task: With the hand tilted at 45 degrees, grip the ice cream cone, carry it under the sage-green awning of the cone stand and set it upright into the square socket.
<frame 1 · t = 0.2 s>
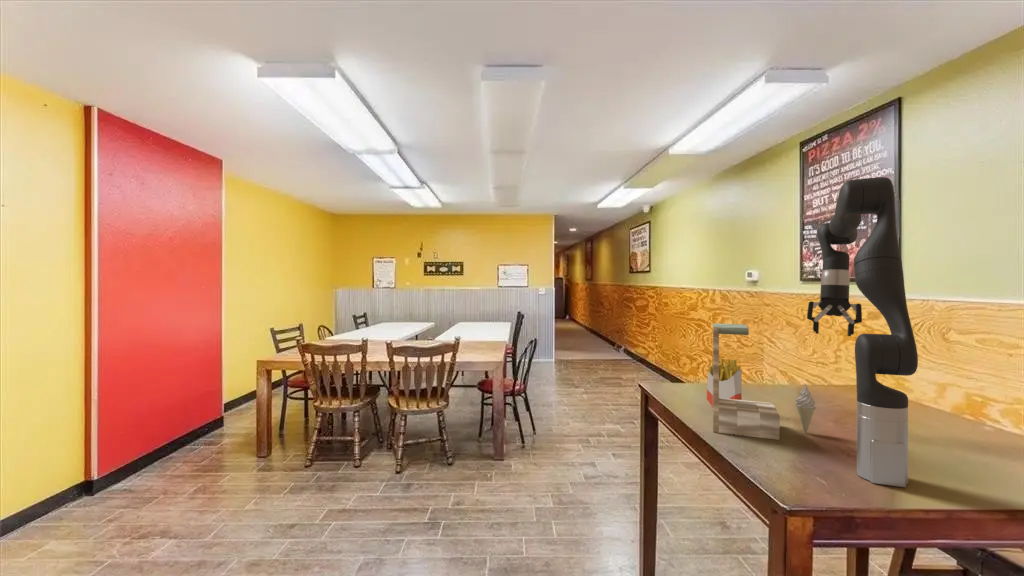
hand: (832, 334, 146), 29 cm above the table, tool pointing down, fingers open, 8 cm apart
cone stand: (746, 428, 142), on the table
ice cream cone: (805, 434, 138), on the table
french fries container: (723, 409, 166), on the table
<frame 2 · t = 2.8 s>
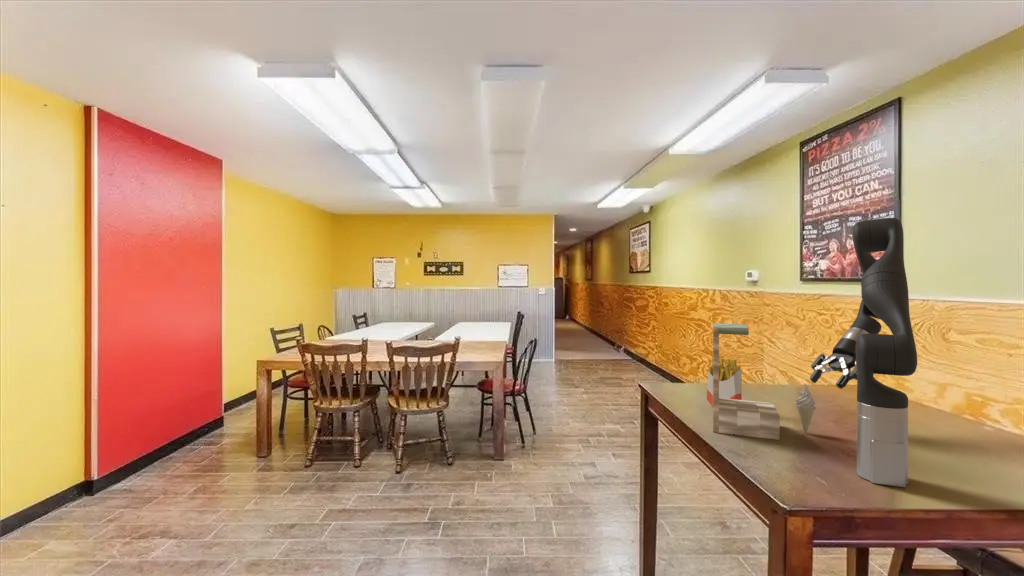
hand: (825, 383, 140), 14 cm above the table, tool tilted 45°, fingers open, 8 cm apart
nothing on the table moved.
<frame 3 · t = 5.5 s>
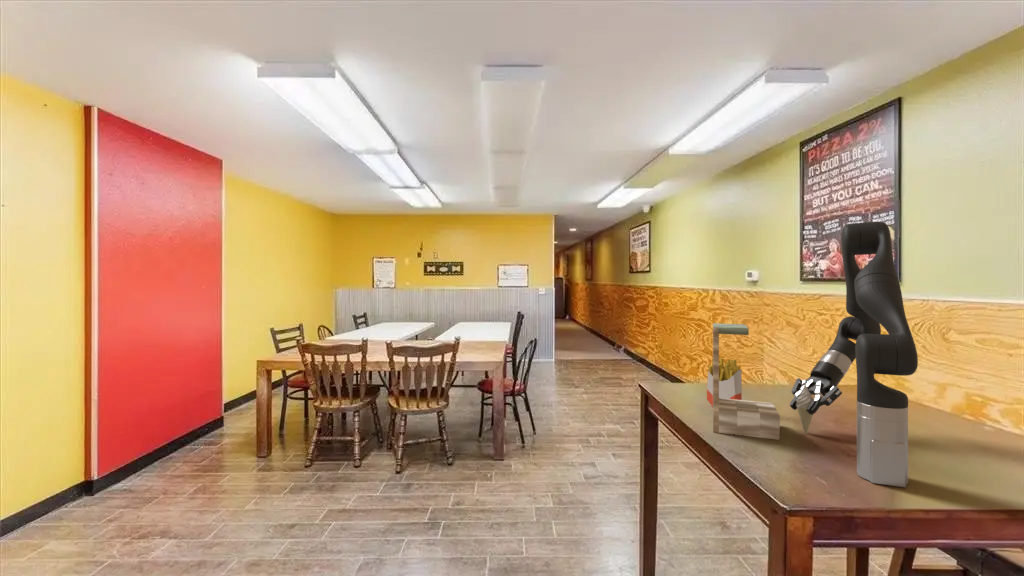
hand: (800, 410, 137), 7 cm above the table, tool tilted 45°, fingers closed on ice cream cone, 5 cm apart
ice cream cone: (805, 434, 138), on the table, touching gripper
everything else where it was.
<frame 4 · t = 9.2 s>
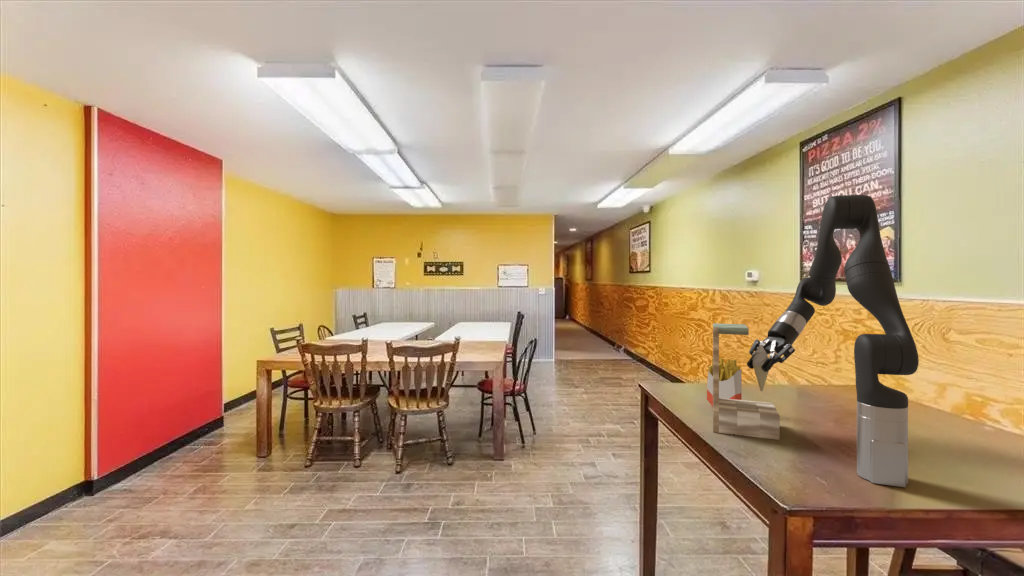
hand: (756, 368, 141), 19 cm above the table, tool tilted 45°, fingers closed on ice cream cone, 5 cm apart
ice cream cone: (761, 391, 141), point 12 cm above the table, touching gripper
everything else where it was.
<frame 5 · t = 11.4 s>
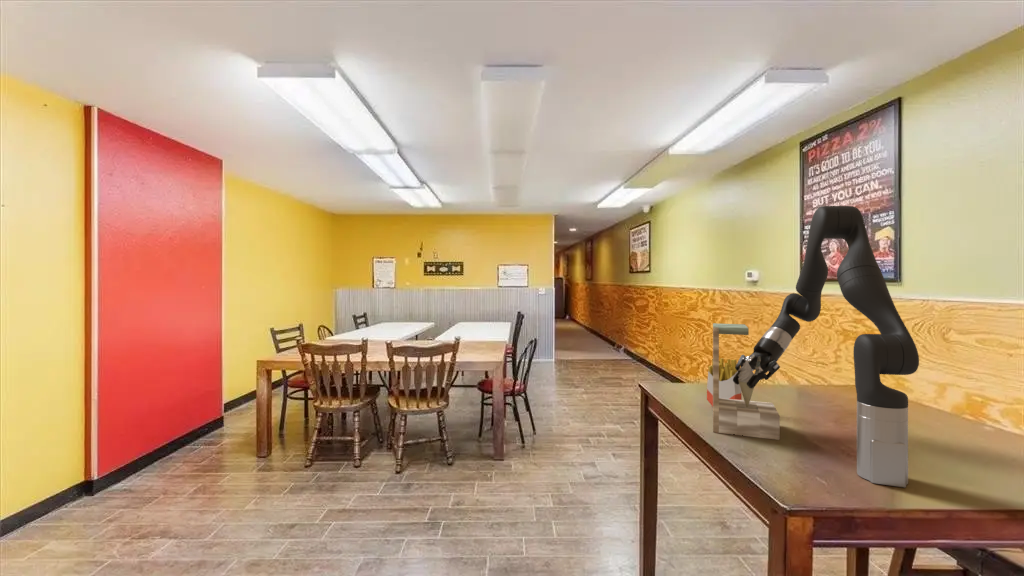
hand: (742, 384, 142), 14 cm above the table, tool tilted 45°, fingers closed on ice cream cone, 5 cm apart
ice cream cone: (747, 407, 142), point 7 cm above the table, touching gripper
everything else where it was.
when the fingers open (8 cm above the table, at t = 13.1 s): ice cream cone stays where it is, resting in cone stand.
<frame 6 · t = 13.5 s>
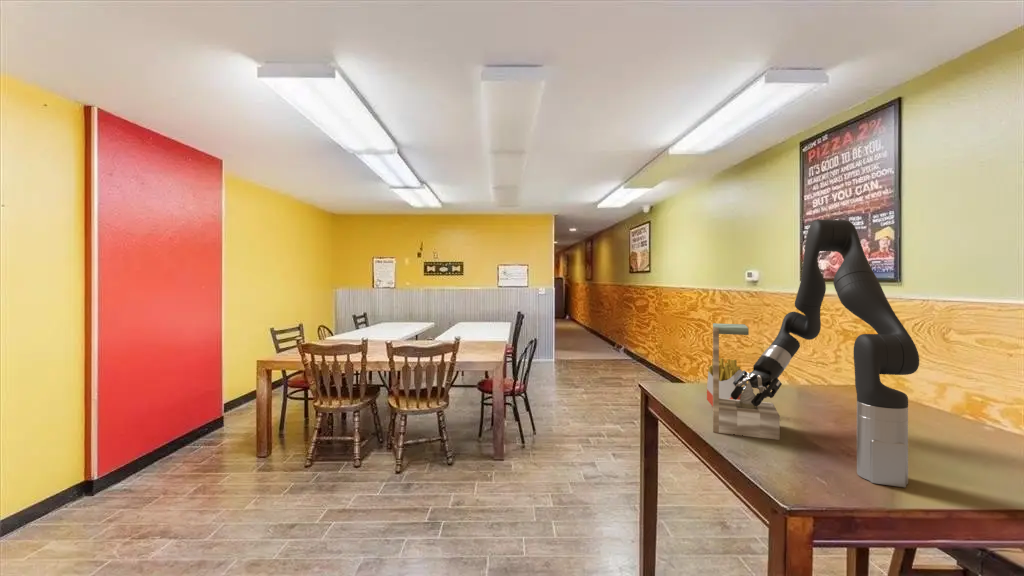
hand: (743, 401, 142), 9 cm above the table, tool tilted 45°, fingers open, 8 cm apart
ice cream cone: (746, 429, 143), resting in cone stand
everything else where it was.
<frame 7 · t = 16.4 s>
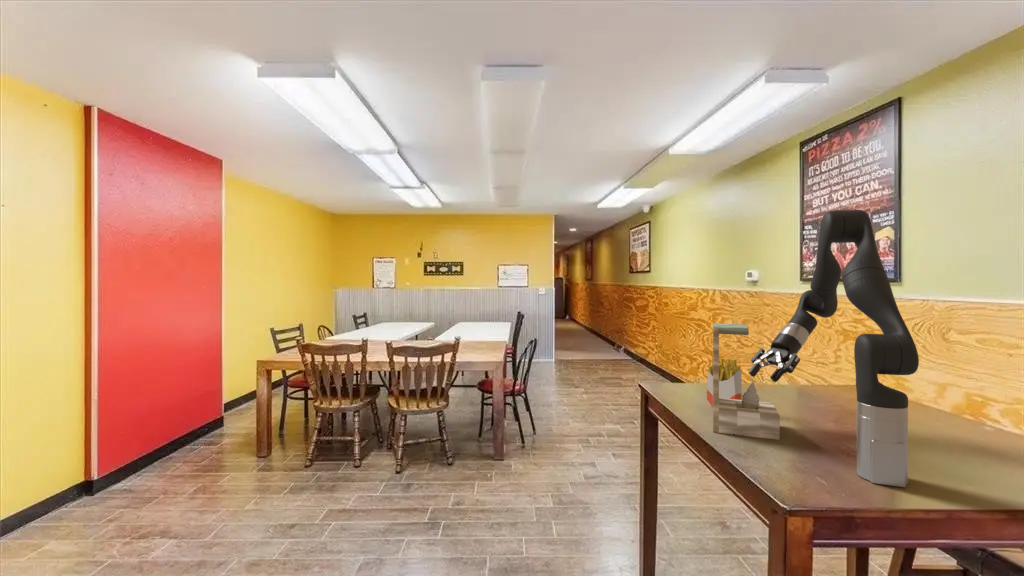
hand: (761, 377, 144), 16 cm above the table, tool tilted 45°, fingers open, 8 cm apart
ice cream cone: (746, 428, 143), resting in cone stand
everything else where it was.
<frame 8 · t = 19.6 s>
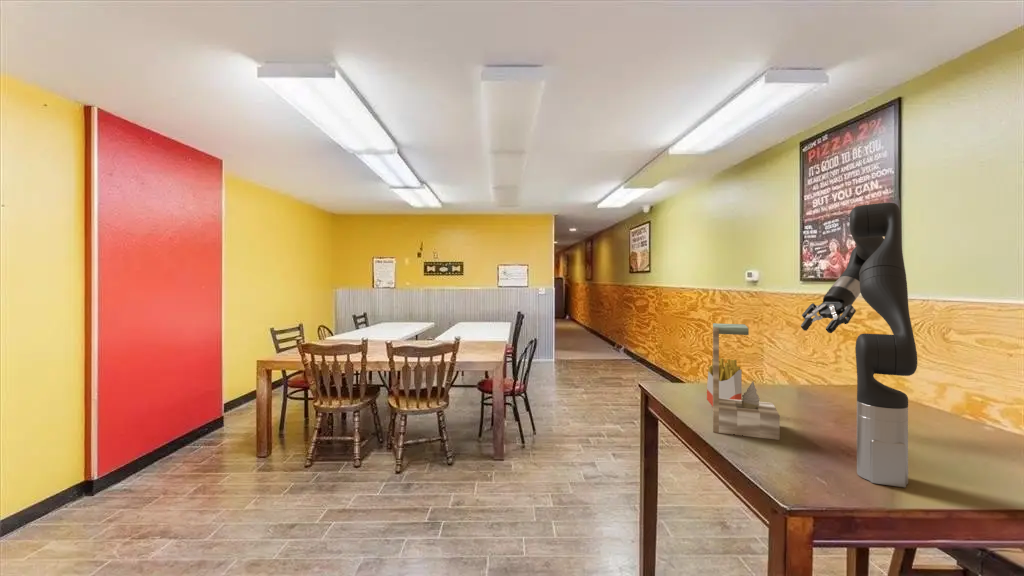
hand: (815, 330, 144), 31 cm above the table, tool tilted 45°, fingers open, 8 cm apart
nothing on the table moved.
at the end: ice cream cone 0.3 cm off-centre on the cone stand, point 0.0 cm above the cone stand's base; ice cream cone tilted 8°; the gripper is holding nothing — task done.
